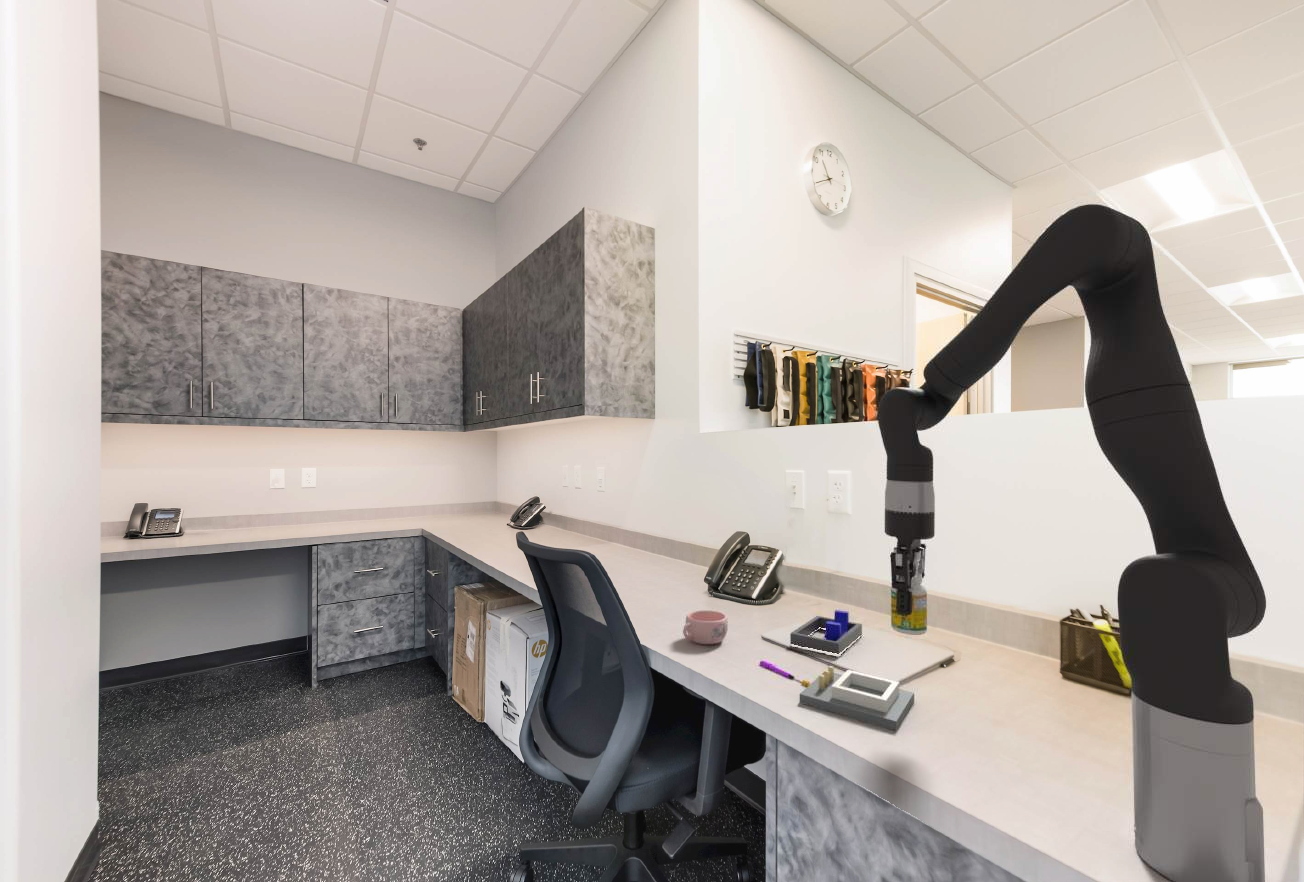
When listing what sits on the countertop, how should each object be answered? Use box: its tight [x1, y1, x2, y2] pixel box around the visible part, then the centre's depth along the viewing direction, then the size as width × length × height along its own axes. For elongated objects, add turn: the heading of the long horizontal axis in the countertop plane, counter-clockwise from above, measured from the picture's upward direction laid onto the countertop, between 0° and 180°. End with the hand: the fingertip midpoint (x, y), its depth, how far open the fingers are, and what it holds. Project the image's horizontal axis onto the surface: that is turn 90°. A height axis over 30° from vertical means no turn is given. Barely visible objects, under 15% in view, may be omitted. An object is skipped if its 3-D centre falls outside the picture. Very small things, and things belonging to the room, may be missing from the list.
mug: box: [682, 609, 729, 645], centre depth 126 cm, size 12×10×6 cm
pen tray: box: [789, 615, 863, 654], centre depth 126 cm, size 11×17×3 cm, turn 143°
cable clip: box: [824, 609, 850, 641], centre depth 126 cm, size 12×4×6 cm, turn 151°
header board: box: [799, 665, 915, 731], centre depth 95 cm, size 16×13×4 cm
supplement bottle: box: [890, 571, 928, 636], centre depth 89 cm, size 5×5×10 cm
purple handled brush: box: [759, 660, 812, 688], centre depth 106 cm, size 3×1×16 cm
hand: (908, 609), depth 89 cm, fingers closed on supplement bottle, 5 cm apart
